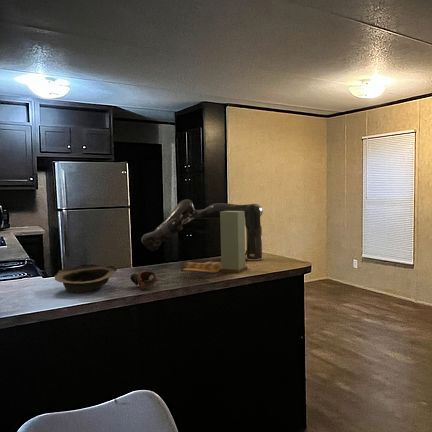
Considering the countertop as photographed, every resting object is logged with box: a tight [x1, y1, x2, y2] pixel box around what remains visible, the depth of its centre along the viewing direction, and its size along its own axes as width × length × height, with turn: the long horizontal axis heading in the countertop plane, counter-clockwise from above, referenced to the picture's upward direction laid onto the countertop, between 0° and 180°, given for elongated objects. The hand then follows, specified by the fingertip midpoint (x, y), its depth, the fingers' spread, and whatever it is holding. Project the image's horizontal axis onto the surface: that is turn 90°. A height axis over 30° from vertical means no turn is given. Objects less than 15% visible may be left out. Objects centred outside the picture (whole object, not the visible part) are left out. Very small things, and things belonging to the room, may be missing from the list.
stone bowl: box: [54, 263, 118, 294], centre depth 193 cm, size 25×25×9 cm
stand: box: [218, 211, 249, 274], centre depth 230 cm, size 11×11×31 cm
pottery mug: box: [129, 270, 158, 291], centre depth 195 cm, size 12×10×8 cm
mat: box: [181, 267, 221, 274], centre depth 236 cm, size 20×14×1 cm
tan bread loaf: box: [184, 256, 221, 270], centre depth 236 cm, size 20×6×6 cm, turn 69°
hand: (193, 213), depth 237 cm, fingers open, 8 cm apart
